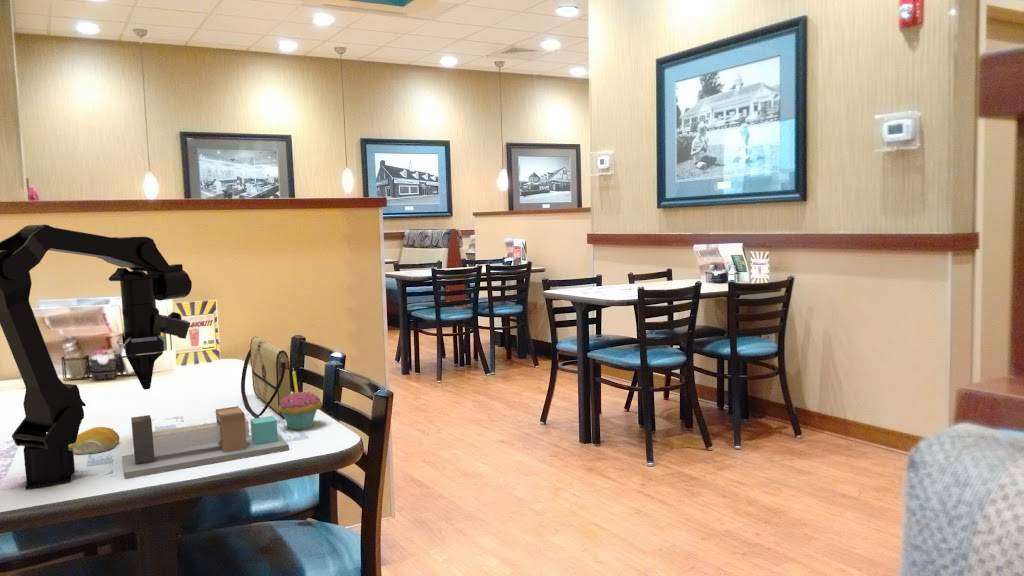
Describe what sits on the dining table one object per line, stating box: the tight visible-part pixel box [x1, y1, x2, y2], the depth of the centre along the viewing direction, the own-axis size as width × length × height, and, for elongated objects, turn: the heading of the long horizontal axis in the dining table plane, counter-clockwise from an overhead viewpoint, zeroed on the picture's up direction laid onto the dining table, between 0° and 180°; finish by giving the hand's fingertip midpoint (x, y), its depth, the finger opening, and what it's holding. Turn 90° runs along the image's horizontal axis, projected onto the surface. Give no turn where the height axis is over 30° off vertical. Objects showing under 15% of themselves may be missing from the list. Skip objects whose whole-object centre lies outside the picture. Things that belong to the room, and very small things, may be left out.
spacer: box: [250, 415, 279, 445], centre depth 141 cm, size 4×4×4 cm
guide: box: [121, 406, 290, 479], centre depth 136 cm, size 27×11×8 cm, turn 119°
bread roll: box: [69, 426, 120, 456], centre depth 144 cm, size 8×9×4 cm
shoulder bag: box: [240, 336, 292, 419], centre depth 171 cm, size 30×7×15 cm, turn 31°
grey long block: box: [130, 414, 250, 463], centre depth 135 cm, size 19×4×7 cm, turn 119°
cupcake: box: [279, 367, 322, 430], centre depth 154 cm, size 9×8×12 cm
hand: (145, 384), depth 143 cm, fingers open, 9 cm apart
